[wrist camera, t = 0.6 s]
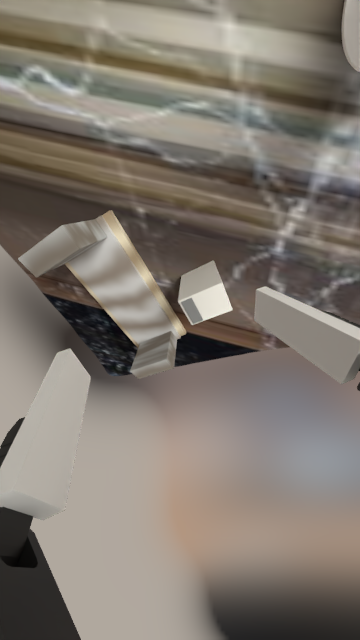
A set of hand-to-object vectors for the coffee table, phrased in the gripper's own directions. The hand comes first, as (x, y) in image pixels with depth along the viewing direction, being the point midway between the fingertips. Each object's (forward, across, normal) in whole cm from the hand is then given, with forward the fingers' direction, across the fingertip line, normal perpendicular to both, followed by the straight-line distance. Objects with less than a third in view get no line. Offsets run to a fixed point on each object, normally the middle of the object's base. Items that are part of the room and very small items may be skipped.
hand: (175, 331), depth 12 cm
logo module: (+22, +11, -6) cm, 25 cm away
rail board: (+28, -4, -7) cm, 29 cm away
